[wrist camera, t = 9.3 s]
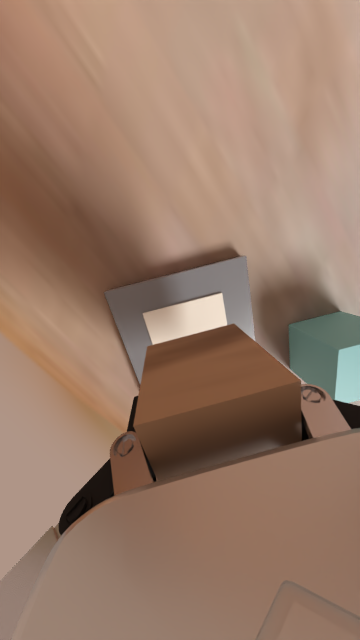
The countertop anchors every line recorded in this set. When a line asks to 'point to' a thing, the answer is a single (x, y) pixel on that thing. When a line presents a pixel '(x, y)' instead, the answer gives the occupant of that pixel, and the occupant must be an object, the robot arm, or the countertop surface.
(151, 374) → the walnut block
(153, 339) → the grey square plate
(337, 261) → the countertop surface
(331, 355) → the teal block
